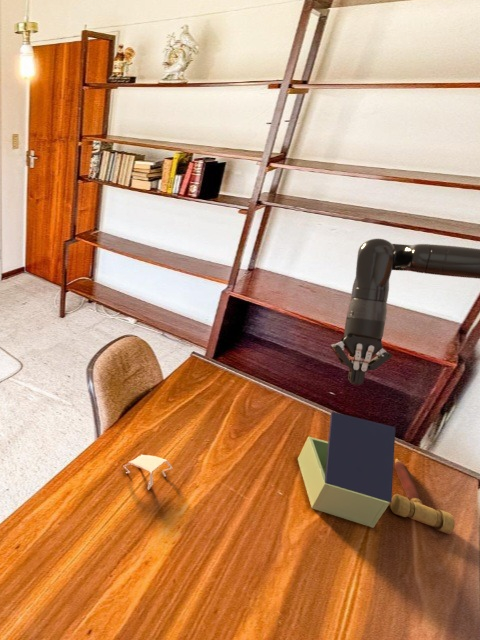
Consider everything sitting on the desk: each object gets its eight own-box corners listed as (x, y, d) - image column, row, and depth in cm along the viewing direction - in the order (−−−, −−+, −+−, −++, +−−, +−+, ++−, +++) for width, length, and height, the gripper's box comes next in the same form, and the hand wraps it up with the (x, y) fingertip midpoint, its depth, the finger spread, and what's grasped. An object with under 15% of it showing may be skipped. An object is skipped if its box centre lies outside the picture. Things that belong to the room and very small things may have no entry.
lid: (330, 411, 97) (332, 411, 96) (393, 427, 93) (395, 427, 92) (324, 482, 93) (326, 483, 92) (389, 501, 89) (391, 502, 88)
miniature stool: (139, 496, 98) (142, 483, 96) (120, 469, 105) (123, 456, 103) (178, 482, 102) (181, 469, 100) (157, 457, 109) (160, 444, 107)
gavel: (377, 446, 111) (423, 461, 107) (371, 458, 113) (416, 473, 108) (401, 504, 93) (458, 524, 89) (393, 517, 95) (448, 538, 91)
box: (297, 459, 110) (308, 436, 106) (350, 474, 106) (364, 451, 102) (311, 508, 97) (324, 484, 93) (373, 528, 93) (389, 503, 89)
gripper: (387, 320, 102) (376, 386, 103) (328, 312, 106) (318, 375, 106) (406, 323, 95) (395, 393, 96) (343, 314, 99) (332, 382, 99)
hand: (354, 384), depth 101 cm, fingers closed
